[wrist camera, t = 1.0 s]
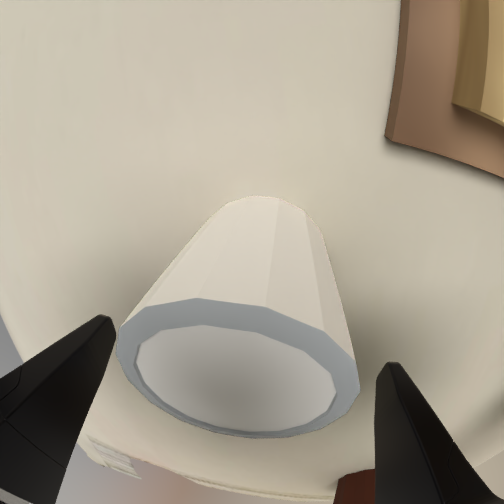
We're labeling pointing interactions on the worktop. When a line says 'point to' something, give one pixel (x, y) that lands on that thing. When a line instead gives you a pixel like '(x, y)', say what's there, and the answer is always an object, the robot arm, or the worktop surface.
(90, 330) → the robot arm
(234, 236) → the white cup
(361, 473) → the muffin
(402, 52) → the holder
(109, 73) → the worktop surface
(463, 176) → the worktop surface
